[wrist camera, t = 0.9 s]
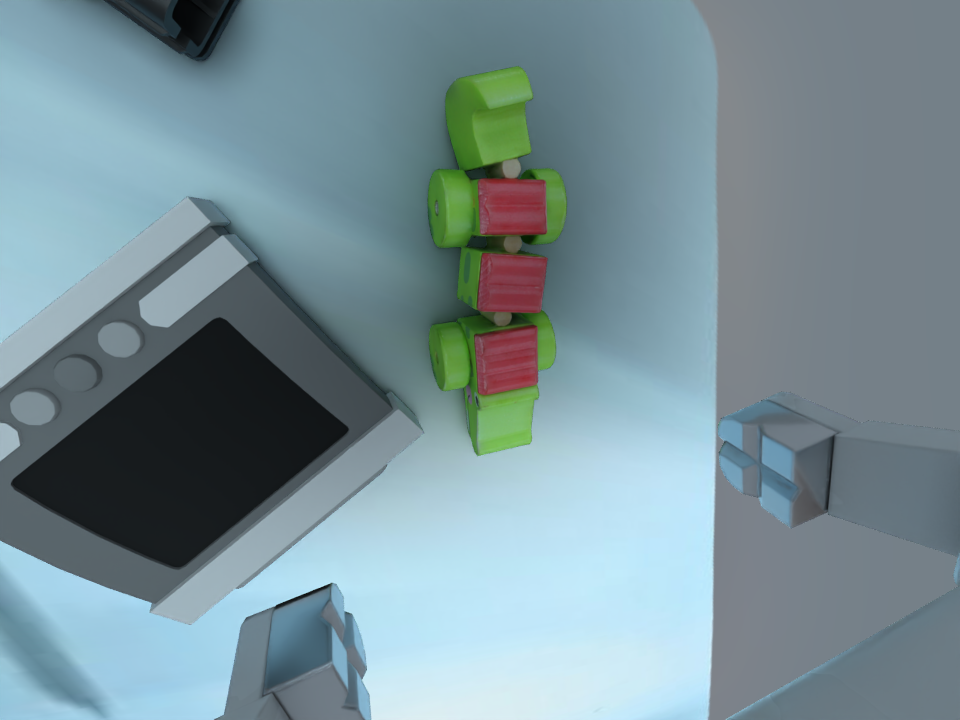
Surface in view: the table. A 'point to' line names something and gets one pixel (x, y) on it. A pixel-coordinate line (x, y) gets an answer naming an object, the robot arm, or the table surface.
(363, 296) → the table surface
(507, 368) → the toy crocodile
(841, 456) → the robot arm
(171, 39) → the end cap
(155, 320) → the alarm clock
